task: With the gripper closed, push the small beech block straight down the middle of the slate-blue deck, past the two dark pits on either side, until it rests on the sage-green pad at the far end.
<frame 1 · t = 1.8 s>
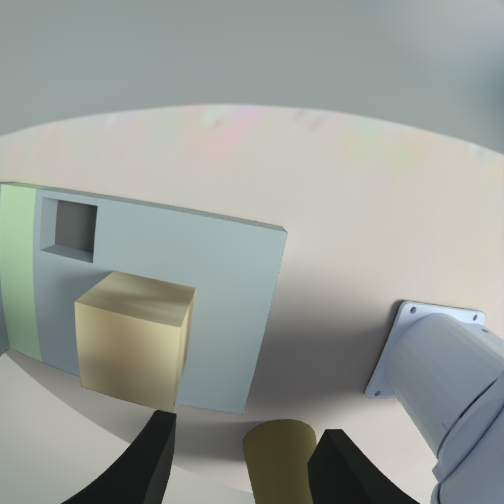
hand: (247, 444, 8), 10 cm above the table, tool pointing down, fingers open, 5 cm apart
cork: (279, 441, 21), on the table
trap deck: (119, 294, 17), on the table
beech block: (150, 317, 16), point 2 cm above the table, touching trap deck
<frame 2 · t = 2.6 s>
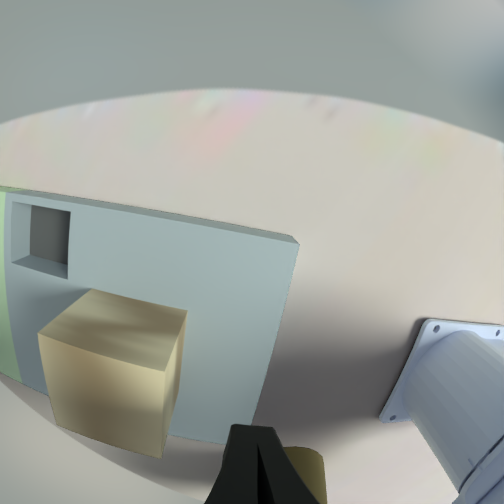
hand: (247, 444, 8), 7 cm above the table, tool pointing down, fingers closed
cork: (283, 467, 18), on the table
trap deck: (101, 313, 15), on the table
beech block: (135, 343, 13), point 2 cm above the table, touching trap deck
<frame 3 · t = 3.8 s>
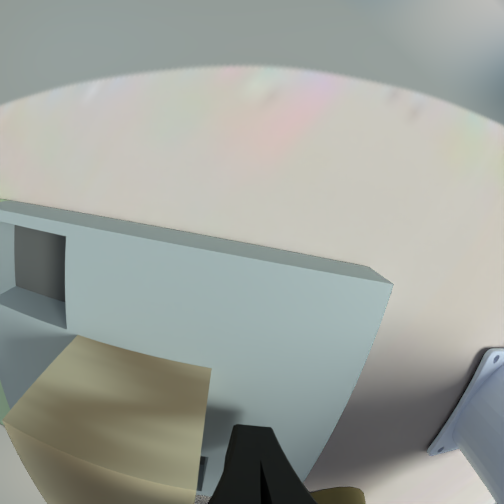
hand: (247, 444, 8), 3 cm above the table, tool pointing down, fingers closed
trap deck: (113, 363, 11), on the table
beech block: (139, 403, 9), point 2 cm above the table, touching gripper
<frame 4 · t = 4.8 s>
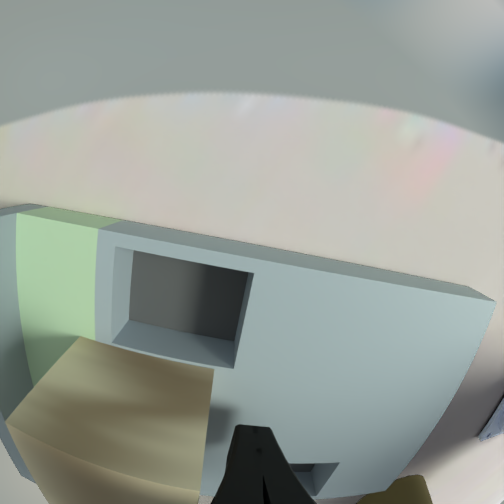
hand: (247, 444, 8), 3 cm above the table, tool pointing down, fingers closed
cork: (388, 495, 15), on the table
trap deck: (248, 390, 11), on the table
beech block: (142, 404, 9), point 2 cm above the table, touching gripper, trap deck
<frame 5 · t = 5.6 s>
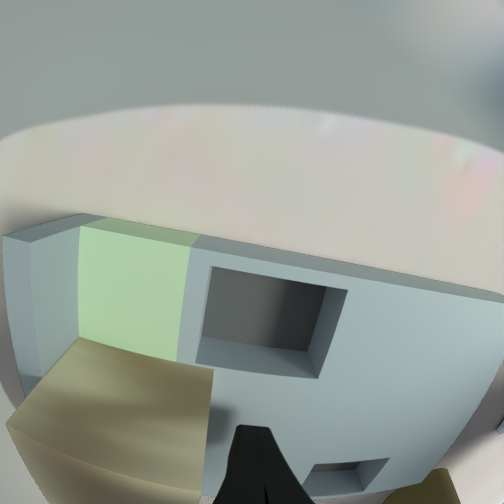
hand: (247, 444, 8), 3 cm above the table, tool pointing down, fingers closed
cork: (415, 489, 15), on the table
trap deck: (312, 397, 12), on the table
beech block: (142, 405, 9), point 2 cm above the table, touching gripper, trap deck
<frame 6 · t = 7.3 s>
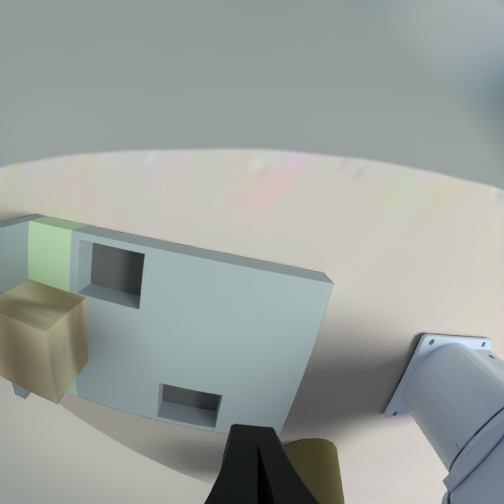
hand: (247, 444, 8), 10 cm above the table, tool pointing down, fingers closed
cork: (303, 457, 22), on the table
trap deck: (160, 333, 18), on the table
beech block: (56, 321, 16), point 2 cm above the table, touching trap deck
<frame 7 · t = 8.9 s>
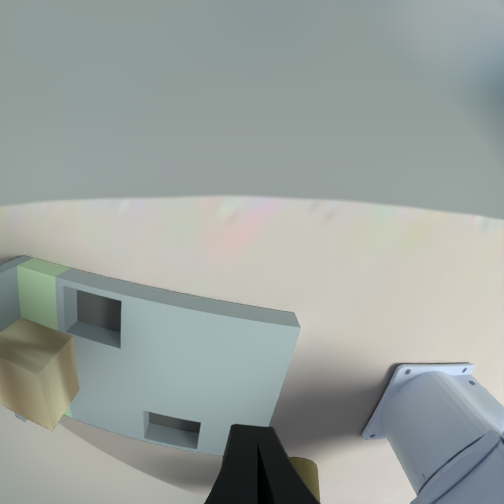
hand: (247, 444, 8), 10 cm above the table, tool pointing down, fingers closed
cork: (285, 473, 22), on the table
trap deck: (143, 366, 19), on the table
beech block: (49, 354, 16), point 2 cm above the table, touching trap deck
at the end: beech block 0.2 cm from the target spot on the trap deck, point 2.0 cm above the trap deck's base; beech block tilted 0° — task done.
